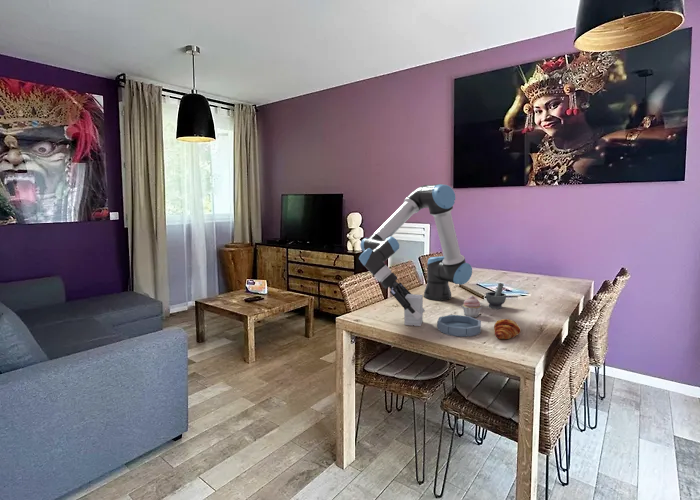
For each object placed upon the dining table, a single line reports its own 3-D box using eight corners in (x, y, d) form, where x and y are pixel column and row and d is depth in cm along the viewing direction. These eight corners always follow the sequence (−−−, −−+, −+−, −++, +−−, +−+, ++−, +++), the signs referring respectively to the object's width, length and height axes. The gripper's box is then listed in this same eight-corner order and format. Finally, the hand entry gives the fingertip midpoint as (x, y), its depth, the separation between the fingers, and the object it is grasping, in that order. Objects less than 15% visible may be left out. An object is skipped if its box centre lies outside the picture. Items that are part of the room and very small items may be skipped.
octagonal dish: (440, 320, 182) (440, 313, 182) (481, 324, 176) (481, 317, 175) (434, 333, 165) (434, 325, 165) (480, 338, 159) (480, 330, 159)
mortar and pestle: (499, 311, 197) (500, 287, 195) (481, 307, 203) (482, 284, 202) (509, 306, 204) (511, 283, 202) (492, 303, 211) (493, 281, 209)
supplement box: (423, 321, 182) (423, 294, 180) (420, 326, 175) (420, 298, 173) (406, 320, 184) (407, 293, 182) (403, 325, 177) (404, 297, 175)
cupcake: (472, 319, 183) (473, 298, 182) (457, 314, 191) (457, 294, 190) (486, 316, 188) (486, 295, 187) (470, 311, 196) (471, 291, 195)
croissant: (506, 333, 175) (498, 316, 176) (528, 327, 169) (520, 309, 170) (491, 347, 158) (482, 328, 159) (515, 341, 152) (506, 321, 153)
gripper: (386, 278, 192) (419, 313, 188) (374, 287, 173) (410, 327, 169) (397, 268, 189) (430, 304, 186) (386, 276, 170) (423, 316, 167)
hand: (421, 315), depth 178 cm, fingers open, 8 cm apart
